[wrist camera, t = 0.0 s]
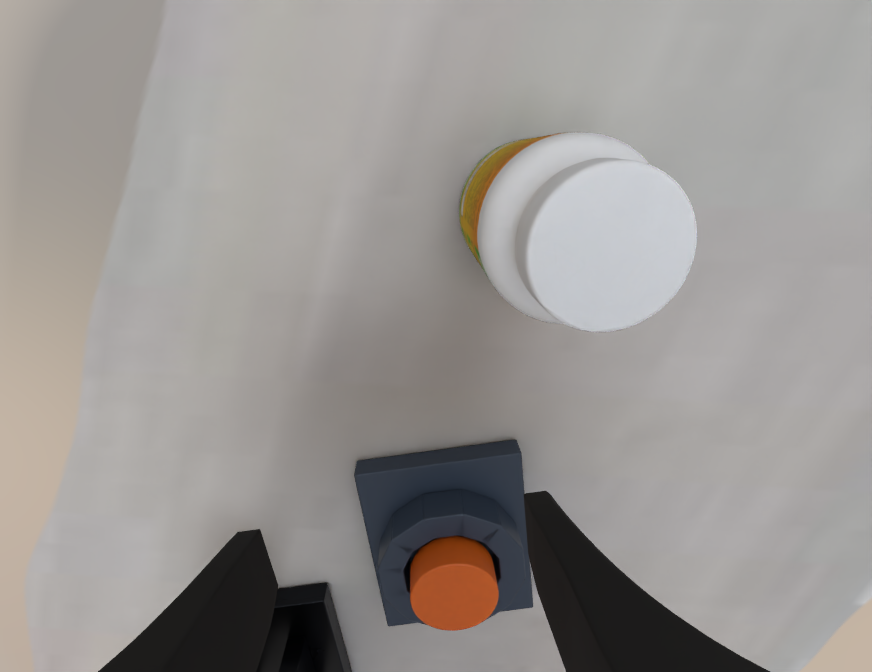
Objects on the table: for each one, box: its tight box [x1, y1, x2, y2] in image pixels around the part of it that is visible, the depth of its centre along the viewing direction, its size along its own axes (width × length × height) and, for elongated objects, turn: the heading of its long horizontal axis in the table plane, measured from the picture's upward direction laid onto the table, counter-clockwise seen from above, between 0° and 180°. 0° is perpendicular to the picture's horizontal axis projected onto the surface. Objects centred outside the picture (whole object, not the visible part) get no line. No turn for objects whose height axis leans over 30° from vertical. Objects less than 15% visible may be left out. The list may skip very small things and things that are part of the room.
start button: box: [410, 536, 499, 630], centre depth 22 cm, size 4×4×2 cm
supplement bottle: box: [459, 132, 697, 332], centre depth 16 cm, size 5×5×10 cm
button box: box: [354, 440, 533, 626], centre depth 24 cm, size 10×8×3 cm
